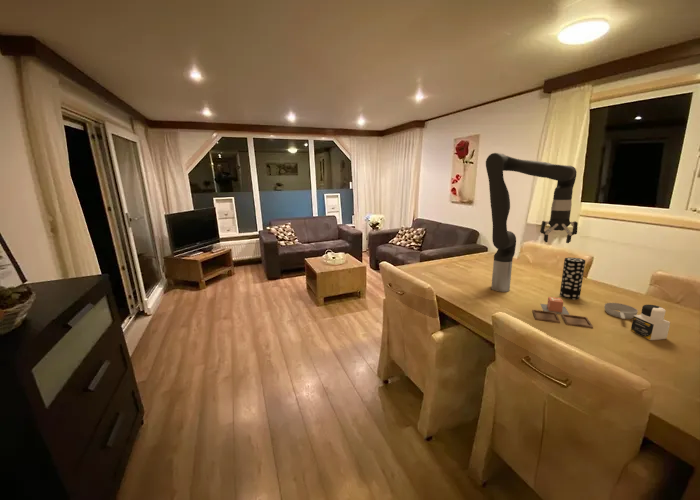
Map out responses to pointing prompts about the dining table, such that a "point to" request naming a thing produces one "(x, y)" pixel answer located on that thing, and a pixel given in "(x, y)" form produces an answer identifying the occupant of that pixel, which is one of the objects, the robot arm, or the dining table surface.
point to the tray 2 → (576, 321)
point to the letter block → (555, 304)
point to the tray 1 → (545, 316)
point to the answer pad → (545, 308)
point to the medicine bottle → (651, 323)
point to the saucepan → (624, 310)
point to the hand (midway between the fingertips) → (556, 242)
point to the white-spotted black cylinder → (572, 278)
